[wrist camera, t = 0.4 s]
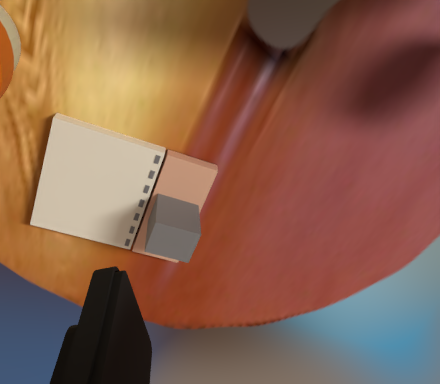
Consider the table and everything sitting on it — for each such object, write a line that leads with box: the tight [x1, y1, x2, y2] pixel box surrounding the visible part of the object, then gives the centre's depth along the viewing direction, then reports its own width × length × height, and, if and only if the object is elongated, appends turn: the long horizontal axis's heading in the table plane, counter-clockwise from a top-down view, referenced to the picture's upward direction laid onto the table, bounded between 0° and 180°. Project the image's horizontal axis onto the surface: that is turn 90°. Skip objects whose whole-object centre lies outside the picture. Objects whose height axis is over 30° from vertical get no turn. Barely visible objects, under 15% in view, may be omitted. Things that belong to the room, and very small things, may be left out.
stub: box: [132, 150, 218, 263], centre depth 47 cm, size 6×14×8 cm, turn 158°
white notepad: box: [30, 113, 165, 250], centre depth 47 cm, size 12×14×2 cm
